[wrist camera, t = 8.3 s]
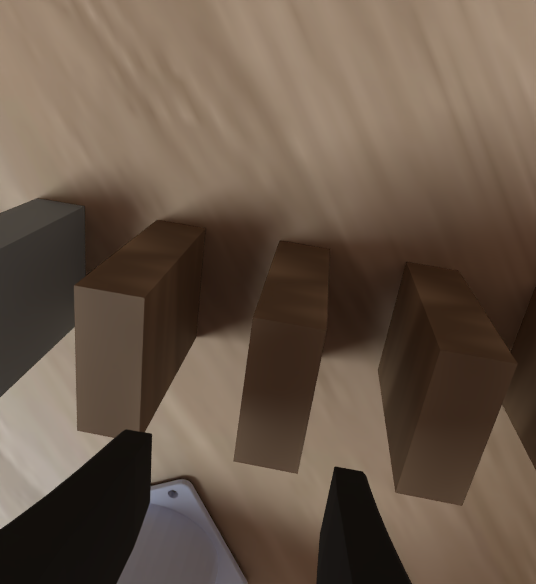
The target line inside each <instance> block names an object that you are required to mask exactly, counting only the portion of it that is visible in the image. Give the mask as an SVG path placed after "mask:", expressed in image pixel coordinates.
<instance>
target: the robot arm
mask: <svg viewBox="0 0 536 584" xmlns="http://www.w3.org/2000/svg"><path fill="white" fill-rule="evenodd" d="M151 451H152V434H150V433H145V432H139V431H133V430H128V429H125V430H124V431H122V432H121V433H120V434H119V435H117V436H116V437H115V438H114V439H113V440H112V441H111V442H109V443H108V444H107V445H106V446H105V447H104V448H103V449H102V450H100V451H99V452H98V453H97V454H96V455H95V456H94V457H92V458H91V459H90V460H89V461H88V462H87V463H85V464H84V465H83V466H82V467H81V468H80V469H78V470H77V471H76V472H75V473H73V474H72V475H71V476H70V477H69V478H67V479H66V480H65V481H64V482H62V483H61V484H60V485H59V486H57V487H56V488H55V489H54V490H53V491H51V492H50V493H49V494H48V495H46V496H45V497H44V498H42V499H41V500H40V501H38V502H37V503H36V504H34V505H33V506H32V507H30V508H29V509H28V510H26V511H25V512H24V513H22V514H21V515H20V516H18V517H17V518H15V519H14V520H13V521H11V522H10V523H9V524H7V525H6V526H4V527H3V528H2V529H0V584H248V582H247V580H246V578H245V577H244V575H243V573H242V571H241V570H240V568H239V566H238V564H237V562H236V561H235V559H234V557H233V555H232V554H231V552H230V550H229V548H228V547H227V545H226V543H225V541H224V540H223V538H222V536H221V534H220V532H219V531H218V529H217V527H216V525H215V524H214V522H213V520H212V518H211V517H210V515H209V513H208V511H207V509H206V508H205V506H204V504H203V502H202V501H201V499H200V497H199V495H198V494H197V492H196V490H195V488H194V486H193V485H192V484H191V482H189V481H188V480H185V479H179V480H175V481H171V482H166V483H162V484H158V485H154V486H151ZM172 490H174V491H176V492H173V491H172ZM317 584H412V583H411V581H410V579H409V577H408V575H407V573H406V571H405V569H404V567H403V565H402V563H401V561H400V558H399V556H398V554H397V552H396V550H395V548H394V546H393V543H392V541H391V539H390V537H389V535H388V532H387V530H386V528H385V525H384V523H383V521H382V518H381V516H380V513H379V511H378V508H377V506H376V503H375V500H374V498H373V495H372V492H371V489H370V486H369V483H368V480H367V477H366V475H365V474H364V473H363V471H357V470H351V469H346V468H340V467H334V472H333V476H332V481H331V485H330V490H329V495H328V499H327V504H326V509H325V513H324V518H323V522H322V527H321V532H320V541H319V554H318V568H317Z"/></svg>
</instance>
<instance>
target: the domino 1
mask: <svg viewBox="0 0 536 584" xmlns="http://www.w3.org/2000/svg"><path fill="white" fill-rule="evenodd" d="M84 277H85V206H81V205H75V204H69V203H63V202H57V201H51V200H45V199H39V198H37V199H34V200H32V201H29V202H27V203H24V204H22V205H19V206H17V207H14V208H12V209H9V210H7V211H4V212H2V213H0V397H1V396H2V395H3V394H4V393H5V392H6V391H7V390H8V389H9V388H10V387H12V386H13V385H14V384H15V383H16V382H17V381H18V380H19V379H20V378H21V377H22V376H23V375H24V374H25V373H26V372H27V371H28V370H29V369H31V368H32V367H33V366H34V365H35V364H36V363H37V362H38V361H39V360H40V359H41V358H42V357H43V356H44V355H45V354H46V353H47V352H48V351H50V350H51V349H52V348H53V347H54V346H55V345H56V344H57V343H58V342H59V341H60V340H61V339H62V338H63V337H64V336H65V335H66V334H67V333H69V332H70V331H71V330H72V329H73V328H74V327H75V312H74V285H75V284H76V283H78V282H79V281H80V280H81V279H83V278H84Z"/></svg>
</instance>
